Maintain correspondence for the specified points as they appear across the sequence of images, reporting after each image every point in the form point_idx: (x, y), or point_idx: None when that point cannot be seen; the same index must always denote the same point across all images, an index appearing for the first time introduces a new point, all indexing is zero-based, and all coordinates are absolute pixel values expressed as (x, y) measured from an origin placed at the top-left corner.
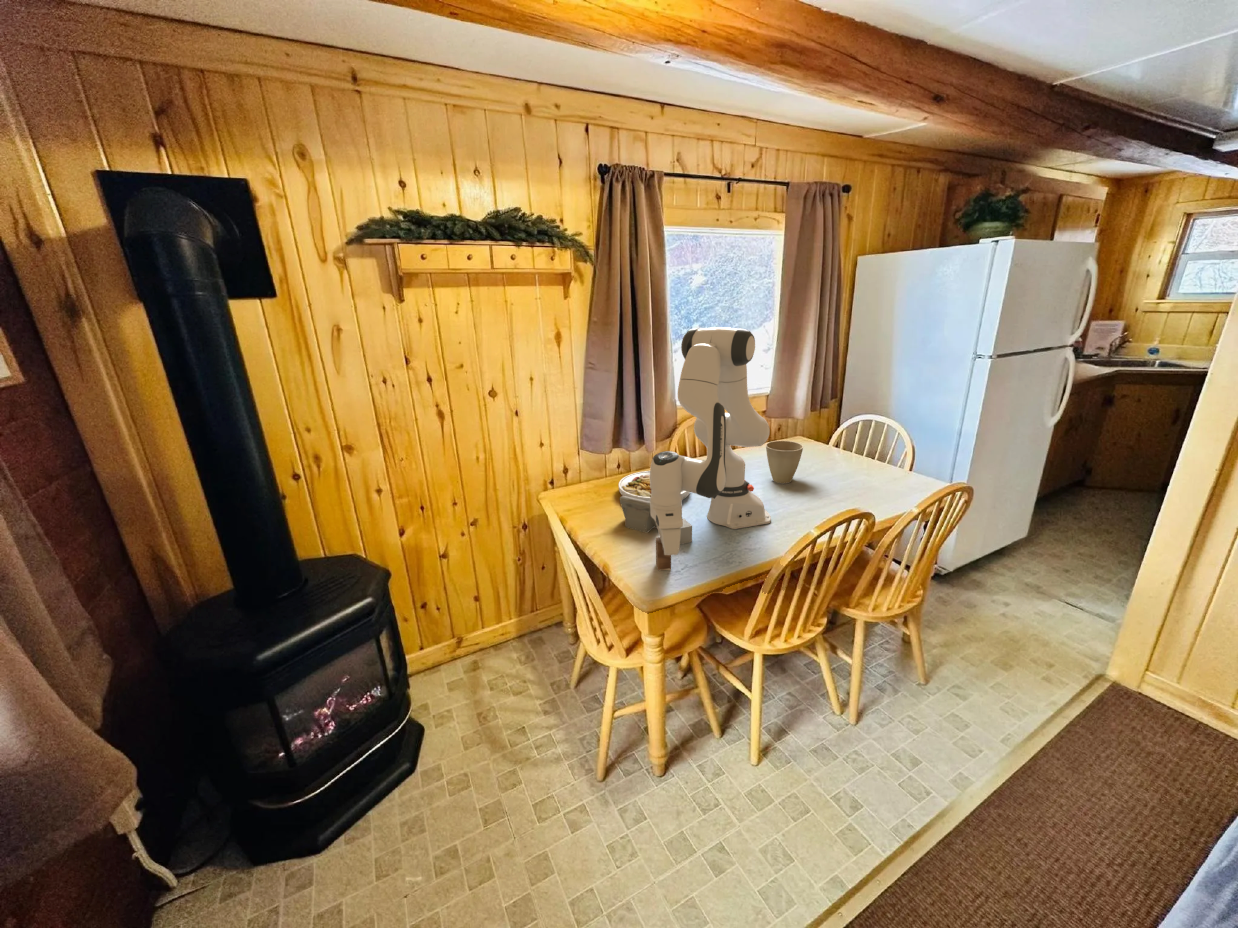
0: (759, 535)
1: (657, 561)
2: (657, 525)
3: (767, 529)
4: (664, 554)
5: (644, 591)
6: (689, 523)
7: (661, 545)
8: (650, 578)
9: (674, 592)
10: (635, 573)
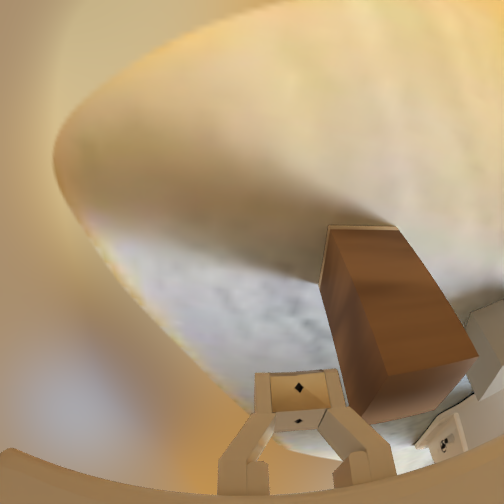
0: (388, 441)
1: (356, 254)
2: (482, 495)
3: (399, 445)
4: (255, 374)
5: (116, 129)
6: (494, 393)
7: (371, 380)
8: (251, 172)
9: (120, 271)
10: (325, 88)
